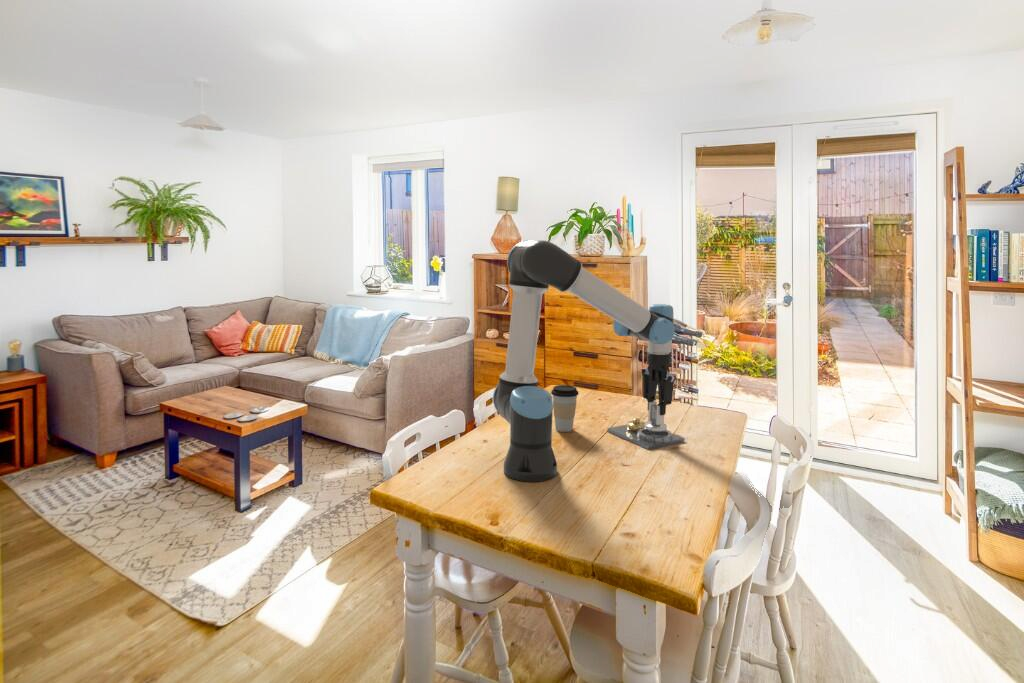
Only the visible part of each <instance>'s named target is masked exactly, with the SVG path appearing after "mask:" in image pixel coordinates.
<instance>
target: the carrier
mask: <svg viewBox="0 0 1024 683" xmlns="http://www.w3.org/2000/svg"><path fill="white" fill-rule="evenodd" d="M645 423H646V422H645V421H641V418H637V417H634V418H632V420H631V421H627V423H626V424H623V425H619V426H617V425H616V426H613V427H607V432H608V433H610V434H611V435H614V436H617V437H619V438H620V439H623V440H625V441H628V442H630V443H632V444H633V445H637V446H639V447H641V448H643V449H645V450H653V449H658V448H661V447H666V446H671V445H674V444H678V443H683V441H684V442H685V437H683V436H681V435H678V434H676V433H673V432H672V431H670V430H669V429H667V431H666V432H663V433H653V432H649V431H646V430H645Z"/></svg>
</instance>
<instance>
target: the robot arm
mask: <svg viewBox="0 0 1024 683" xmlns="http://www.w3.org/2000/svg"><path fill="white" fill-rule="evenodd" d="M506 265H507V269H508V272H509V282H508V285H509V287H510V288H511V290H512V292H513V293H512V303H511V311H510V312H511V313H510V322H509V329H508V330H509V332H508V341H507V351H506V360H505V369H504V371H503V372H502V373H501V374H500V375H499V377H498V378H499V379H498V385H496V387H495V389H494V390H493V395H492V402H493V405H494V408H495V409H496V412H497V413H498V414H499V415H500V416H501V417H502V418H503V419H504V420H506V422H507V423H508V424H509V425H510V430H509V432H510V434H509V435H510V436H509V438H510V439H509V447H508V451H507V454H506V456H505V460H504V461H503V473H504V475H506V476H507V478H510V479H513V480H515V481H520V482H526V483H527V482H528V483H532V482H533V483H536V482H544V481H548V480H550V479H553V478H554V477H555V476H557V473H558V463H557V460H556V456H555V453H554V450H553V447H552V446H553V445H552V439H553V438H552V436H553V433H552V432H553V413H554V409H553V395H552V394H551V392H550V391H548V390H547V389H545V388H543V387H538V382H539V379H538V378H537V377H536V375H535V372H534V371H535V364H536V357H537V355H536V354H537V345H538V339H539V338H538V337H539V329H540V319H541V311H542V310H541V309H542V301H543V295H544V293H546V292H547V291H549V286H550V287H552V288H555V289H557V290H558V291H560V292H561V293H566V292H568V293H570V294H572V295H573V296H575V297H577V298H579V299H580V300H581V301H583V302H585V303H586V304H588V305H590V306H591V307H593V308H595V309H596V310H597V311H600V312H602V313H603V314H605V315H606V316H608V317H609V318H611V319H613V324H612V327H613V331H614V333H615V334H616V336H619V337H625V338H627V337H634V338H636V339H640V340H645V341H647V350H646V351H647V357H646V363H647V364H648V366H647V368H642V369H641V374H642V396H643V399H644V400H646V402H647V411H648V417H647V422H651V416H652V405H657V415H656V425H660V424H665V416H666V413H667V412H666V411H667V406H669V405H672V403H673V402H672V401H673V394H674V385H675V381H676V379H677V376H676V375H672V374H671V372H670V371H671V370H670V366H671V365H672V364H671V363H672V354H671V352H672V346H673V345H672V344H673V337H674V335H675V325H674V308H673V305H670V304H666V303H663V304H662V303H655V304H650V305H649V308H648V309H647V308H646V307H644V306H643V305H641V304H640V303H639V302H636V301H635V300H634V299H632V298H630V297H629V296H628V295H626V294H624V293H622V292H621V291H619V290H618V289H617V288H615V287H613V286H612V285H610V284H608V283H607V282H606V281H604V280H603V279H601V278H599V277H597V275H595V274H593V273H592V272H590V271H588V270H587V269H585V268H584V267H583V263H582V261H580V260H578V259H577V258H576V257H573V256H572V254H570V253H568V252H567V251H566V250H564V249H562V248H561V247H560V246H558V245H557V244H555V243H553V242H550V241H549V240H542V239H541V240H531V239H529V240H528V239H527V240H523V241H520V242H519V243H516V244H515V245H514V246H512V248H511V249H510V251H509V252H508V254H507V259H506ZM657 393H658V394H657ZM656 394H657V395H658V403H657V399H656Z"/></svg>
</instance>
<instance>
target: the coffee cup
mask: <svg viewBox="0 0 1024 683" xmlns="http://www.w3.org/2000/svg"><path fill="white" fill-rule="evenodd" d="M552 388H553V389H552V390H551V392H550V394H551V396H552V403H553V416H554V426H555V430H556V431H557V432H561V433H570V432H572V431H573V429H574V428H573V427H574V423H575V422H574V420H575V416H576V408H577V398H578V395H579V390H578V389H577V387H576V386H574V385H568V384H559V385H555V386H553V387H552Z"/></svg>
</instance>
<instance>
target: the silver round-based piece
mask: <svg viewBox="0 0 1024 683" xmlns="http://www.w3.org/2000/svg"><path fill="white" fill-rule="evenodd" d="M656 415H657V405H652V416H651V422H649V421H647V422H645V430H646V431H649V432H653V433H663V432H666V431H667V430H668V429H667V428H668V426H667V424H666V423H664V424H660V425H656Z"/></svg>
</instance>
